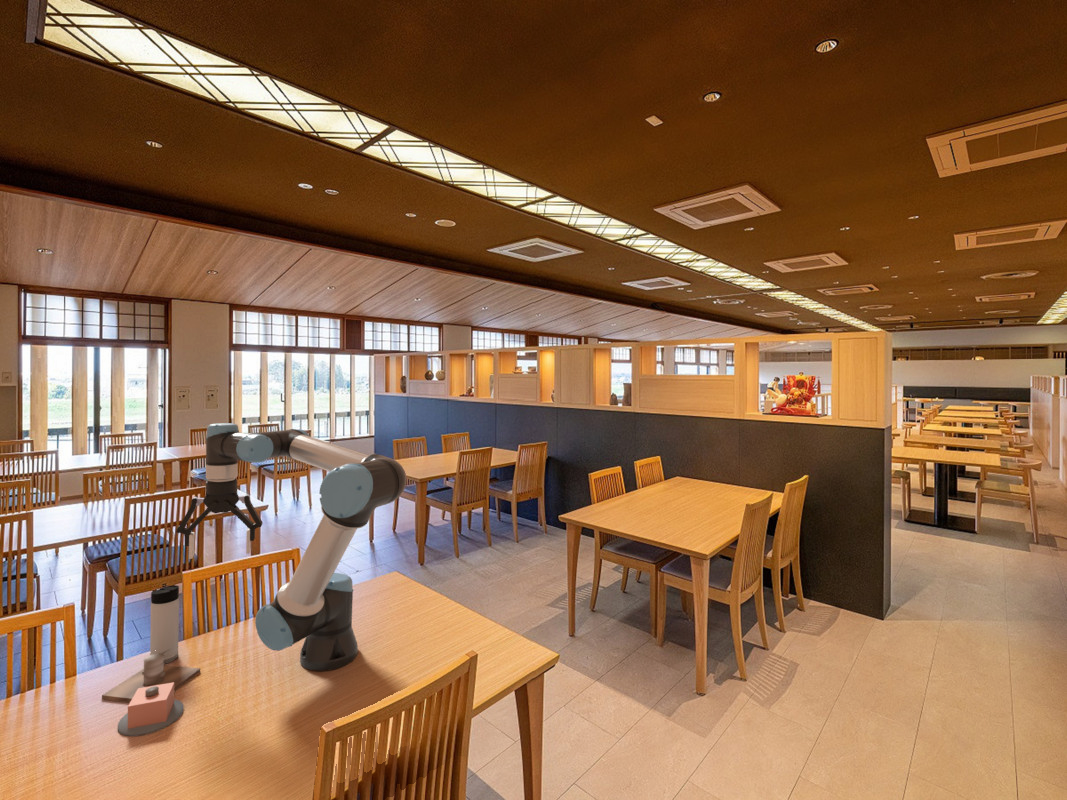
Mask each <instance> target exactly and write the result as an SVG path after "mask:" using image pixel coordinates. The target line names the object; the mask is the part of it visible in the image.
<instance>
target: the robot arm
mask: <svg viewBox="0 0 1067 800" xmlns="http://www.w3.org/2000/svg"><path fill="white" fill-rule="evenodd" d="M281 457H286V458H289V459H293V460H295V461H298V462H301V463H304V464H306V465H310V466H313V467H315V468H318V469H321V470H324V471H327V472H328V473H327V474H326V475H325V476H324V478H323V480H322V481H321V484H320V487H319V495H321V496H320V497H319V501H320V505H321V512H322V514H323V515H322V518H321V520H320V522H319V524H318V526H317V528H316V529H315V531H314V533H313V536H312V537H311V540H310V541H309V544H308V546H307V548H306V549H305V552H304V553H303V556H302V557H301V560H300V561H299V563H298V566H297V567H296V568H295V569H296V570H295V571H294V573H293V575H292V577H291V580H290V581H288V582H285V583H284V584H283V585H281V587H280V588H278V590H277V593H276V595H275V597H274V599H273V601H272V602H270V603H268V604H265V605H263V606H262V607H261V608H260V609H259V610H258V611H257V613H256V615H255V619H254V620H255V621H254V622H255V629H256V634H258V635H257V636H258V637H259V639H260V641H261V642H262V643H263V645H264V646H265V647H266V648H268V649H269V650H272V651H279V652H280V651H283V650H285V649H287V648H290V647H293V645H295V644H297V643H299V642H300V641H302V640H304V641H303V644H302V647H301V648H300V649H301V650H300V654H299V655H300V656H299V663H300V665H301V666H302V667H303V668H305V669H306V670H309V671H316V672H323V671H325V672H326V671H331V670H336V669H338V668H339V669H340V668H341V667H344V666H346V665H348V664H349V663H351V662H352V661H354V659H356V657H357V656H358V648H359V647H358V642H357V638H356V636H355V632H354V629H353V625H352V623H353V622H352V621H353V618H352V617H353V599H354V598H353V597H354V596H353V593H354V589H353V579H352V578H351V577H350V576H349V575H347V574H345V573H341V572H335V571H336V570H337V568H338V565H339V563H340V562H341V560H342V558H343V557H344V555H345V553H346V551H347V549H348V547H349V545H350V543H351V542H352V539H353V537H354V536H355V534H356V532H357V530H358V529H360V528H364V527H365V526H366V525H367V524H368V523H369V521H370V518H371V517H372V514H374V511H375V510H376V509H377V508H378V507H382V506H385V505H389V504H391V503H393V502H395V501H396V500H398V499H399V498H400V497H401V495H402V494H403V493H404V491H405V489H406V486H407V474H406V471H405V469H404V466H402V465H401V464H400V462H398V461H397V460H395V459H393V458H391V457H388V456H384V455H382V454H378V453H370V454H365V453H362V452H359V451H356V450H353V449H350V448H347V447H344V446H339V445H337V444H333V443H331V442H329V441H324V440H321V439H318V438H315V437H312V436H310V435H309V434H308V432H307V431H306V430H303V429H296V428H291V429H282V430H272V431H261V432H260V431H259V432H240V429H239V426H238V424H237V423H229V422H224V423H220V422H219V423H210V424H209V425H207V428H206V437H205V479H207V480H206V481H205V496H204V497H198V496H193V498H192V499H191V502H190V507H189V509H188V510H187V512H186V514H185V515H184V517H183V519H182V521H181V522H180V524H179V525H178V527H177V528H176V531H175V532H176V533H178V534H183V535H184V546H185V547H188V559H189V560H191V559H192V560H193V558H194V557H195V542H196V540H195V539H196V538H195V536H196V535H195V534H196V532H194V531H193V530H194V529H195V528H197V526H198V525H199V524H200V523H201V522H202V521H203V520H204V519H205V518H206V517H207V516H208V515H209V514H210V513H214V514H220V513H223V514H226V513H227V514H228V513H229V512H231V513H232V515H233V514H234V515H235V517H236V518H237V519H239V520H240V521H241V522H242V524H244V526H246V527H247V529H246V549H245V550H246V551H245V552H246V555H247V554H249V555H250V553H251V544H252V543H251V542H252V541H255V539H256V529H258V528H261V527H262V526H263V521H262V519H261V517H260V515H259V513H258V512H257V509H256V508H255V507H254V504H253V503H252V502H251V495H250V494H249V493H246V494H245V495H239V494H238V479H237V477H238V474H239V473H238V470H239V469H238V467H239V466H238V465H239V461H240V462H241V461H242V462H245V463H250V464H251V463H263V462H266V461H267V460H268V459H273V458H281ZM239 501H240V502H241V503H242V504H244V506H245V508H246V509H247V511H248V513H249V515H250V517H251V519H253V521H254V522H253V521H252V520H251V519H250V518H249V516H248V515H246V514H245V513H244V512H243V511H242V510H241V509H240V507H238V505H237V504H238V502H239ZM202 503H203V505H205V506H206V507H207V508H206V509H205V510H203V512H202V513H201V514H200V515H199V516H198V517H197V518H196V519H195V520H194V521H193V522H192V523H191V524H190V525H189V526H188V527H186V526H187V524H188V523H189V521H190V520H191V518H192V516H193V514H194V512H195V511H196V509H197V507H199V506H200V505H202Z"/></svg>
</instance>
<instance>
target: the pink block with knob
mask: <svg viewBox="0 0 1067 800" xmlns="http://www.w3.org/2000/svg"><path fill="white" fill-rule="evenodd" d="M174 699H175V691H174V682H173V683H167V684H161V685H155V686H149V687H143V688H138V689H137V691H136V693H135V695H134V697H133V698H132V700H131V702H130V703H129V704H128V706H127V713H128V729H129V728H134V727H140V726H145V725H150V724H155V723H160V722H165V721H166V720H167V718H168V716H169V713H170V711H171V709H172V706H173V704H174Z"/></svg>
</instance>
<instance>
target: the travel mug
mask: <svg viewBox="0 0 1067 800" xmlns="http://www.w3.org/2000/svg"><path fill="white" fill-rule="evenodd" d="M179 592H180V586H179V585H176V584H175V585H167V586H163V587H160V588H159V589H156V590H153V591H151V593H150V637H149V638H150V639H149V640H150V641H149V642H150V643H149V644H150V645H149V647H150V648H149V649H150V651H149V656H150V655H153V654H163V655H164V665H167V664H170V663H171V662H172V661H174V660H176V659H177V658H178V656H179V632H180V631H179V627H180V626H179V625H180V623H179V617H180V613H179V612H180V596H179V594H180V593H179ZM155 650H156V651H155ZM150 652H151V653H150Z"/></svg>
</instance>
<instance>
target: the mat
mask: <svg viewBox="0 0 1067 800" xmlns="http://www.w3.org/2000/svg"><path fill="white" fill-rule="evenodd" d="M184 706H185V705H184V703H183V702H182V701H181V700H178V699H176V698H174V704H173V706H172V709H171V711H170V713H169V716H168V718H167V720H166V721H165V722H160V723H155V724H150V725H145V726H140V727H134V728H129V729H128V712H127V713H126V714H124V715H123V716H122V717H121V718H120V719H119V721H118V723H117V731H118V733H119V734H121V735H123V736H126V737H139V736H145V735H149V734H152V733H156V732H159V731H161V730H163V729H165V728H167V727H168V726H170V725H172V724H173V723H175V722H176V721H177V720H179V719H180V717H181V716H182V715H183V714H184V711H185V709H184Z"/></svg>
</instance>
